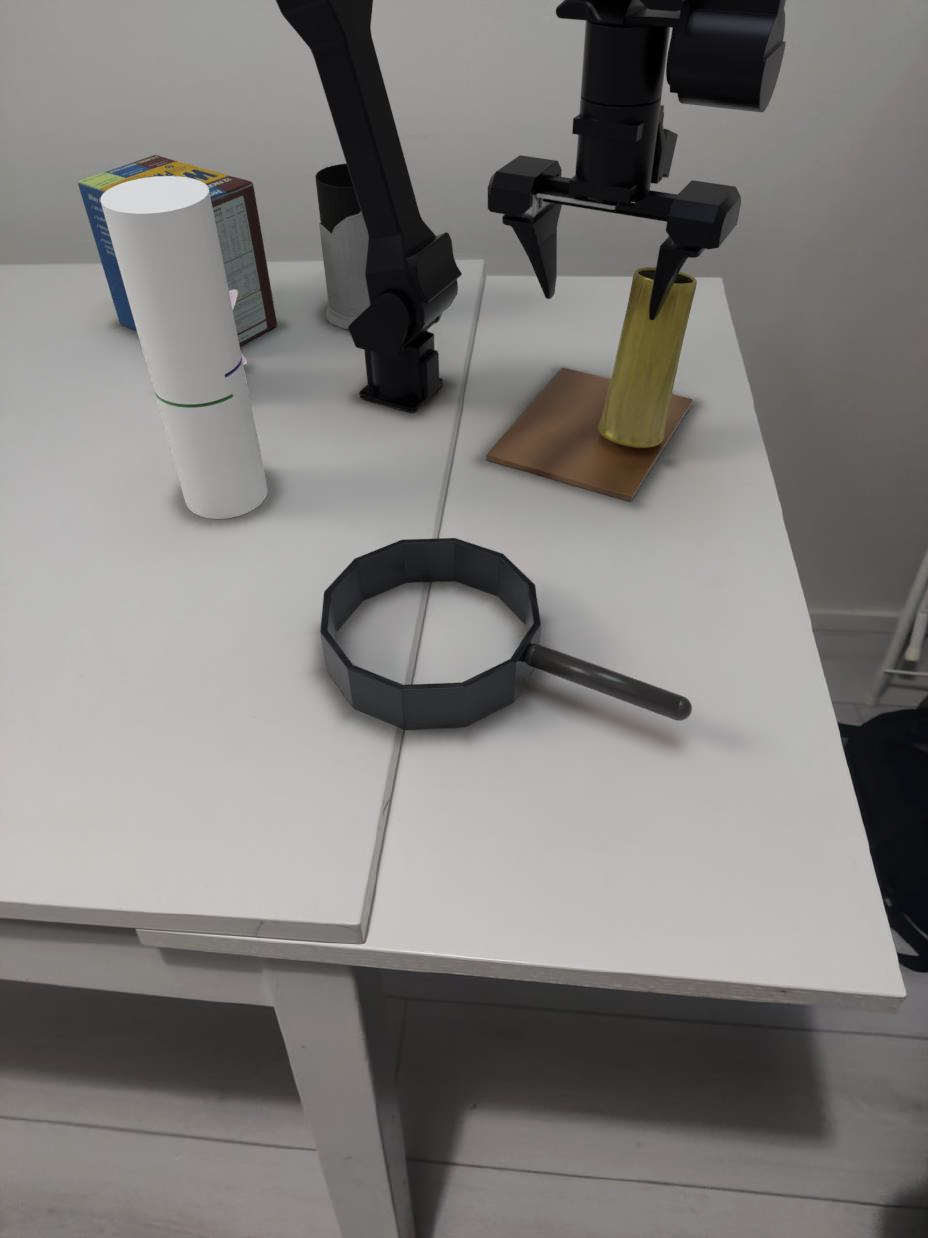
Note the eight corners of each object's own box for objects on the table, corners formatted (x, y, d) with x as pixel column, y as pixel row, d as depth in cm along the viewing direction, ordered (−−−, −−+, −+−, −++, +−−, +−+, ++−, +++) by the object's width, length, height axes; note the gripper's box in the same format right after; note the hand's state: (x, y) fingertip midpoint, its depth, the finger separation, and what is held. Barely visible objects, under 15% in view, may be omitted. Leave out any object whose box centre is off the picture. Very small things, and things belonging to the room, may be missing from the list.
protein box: (187, 292, 106) (154, 152, 95) (279, 326, 99) (255, 180, 88) (117, 324, 100) (73, 180, 89) (210, 363, 93) (175, 212, 82)
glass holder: (339, 335, 97) (323, 194, 87) (303, 285, 107) (285, 152, 96) (412, 321, 100) (405, 181, 89) (371, 273, 109) (360, 142, 99)
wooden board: (485, 459, 80) (485, 454, 80) (561, 372, 92) (562, 366, 91) (630, 502, 76) (631, 496, 75) (691, 404, 87) (692, 398, 87)
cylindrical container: (283, 481, 78) (230, 184, 60) (236, 527, 73) (163, 220, 56) (217, 462, 80) (147, 170, 63) (167, 505, 76) (77, 203, 58)
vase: (666, 452, 78) (708, 289, 70) (598, 444, 78) (632, 279, 70) (658, 426, 83) (696, 270, 75) (595, 418, 83) (626, 261, 75)
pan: (286, 680, 61) (278, 640, 58) (395, 556, 71) (392, 517, 68) (645, 830, 53) (655, 792, 50) (714, 666, 62) (726, 626, 59)
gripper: (779, 82, 64) (736, 290, 75) (546, 58, 71) (538, 253, 81) (739, 122, 57) (698, 346, 68) (484, 92, 64) (484, 300, 74)
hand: (600, 307), depth 73 cm, fingers open, 9 cm apart
